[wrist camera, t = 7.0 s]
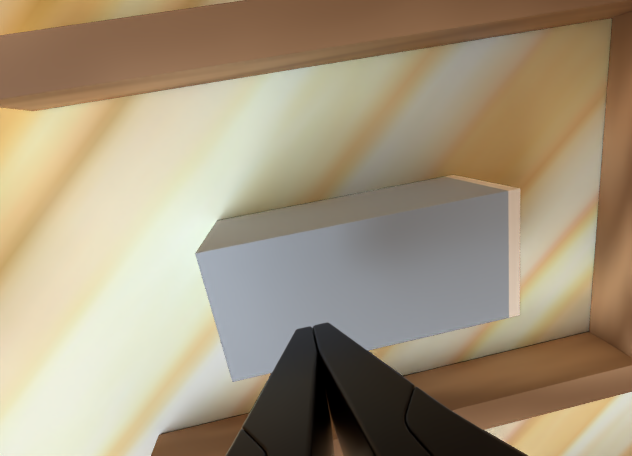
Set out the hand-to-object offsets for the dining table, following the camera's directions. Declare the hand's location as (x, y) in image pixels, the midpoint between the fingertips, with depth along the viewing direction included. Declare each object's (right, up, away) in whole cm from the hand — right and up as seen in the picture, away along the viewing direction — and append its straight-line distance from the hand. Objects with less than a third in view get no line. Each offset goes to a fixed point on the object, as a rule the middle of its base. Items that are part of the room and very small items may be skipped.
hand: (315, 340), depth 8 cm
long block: (-3, 0, +4) cm, 5 cm away
